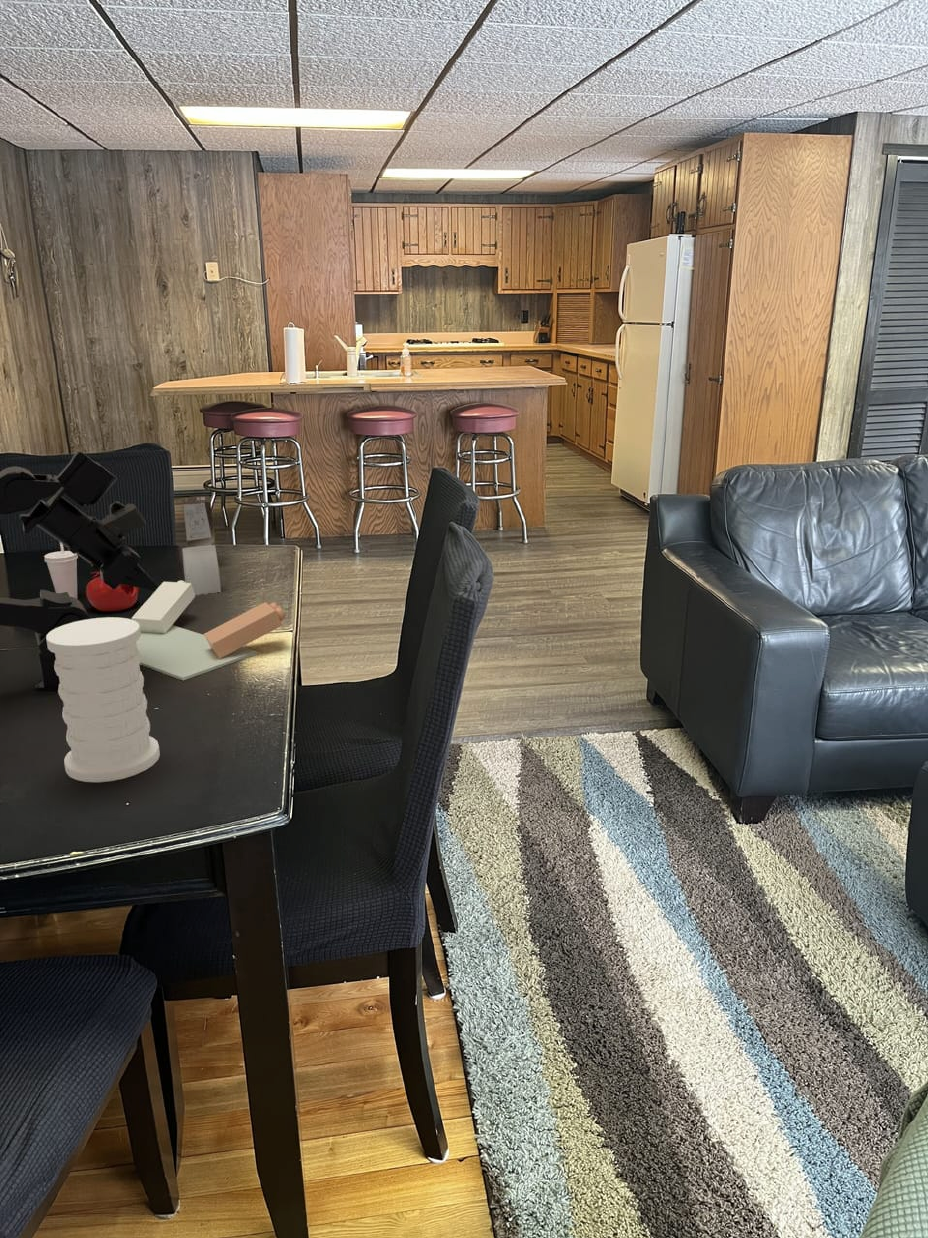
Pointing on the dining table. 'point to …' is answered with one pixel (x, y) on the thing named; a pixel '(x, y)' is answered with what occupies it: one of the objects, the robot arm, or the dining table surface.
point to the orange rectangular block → (245, 628)
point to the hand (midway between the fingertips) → (156, 588)
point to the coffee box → (198, 521)
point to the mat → (183, 653)
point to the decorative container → (103, 699)
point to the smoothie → (63, 571)
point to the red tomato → (110, 595)
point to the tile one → (164, 606)
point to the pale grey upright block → (201, 569)
